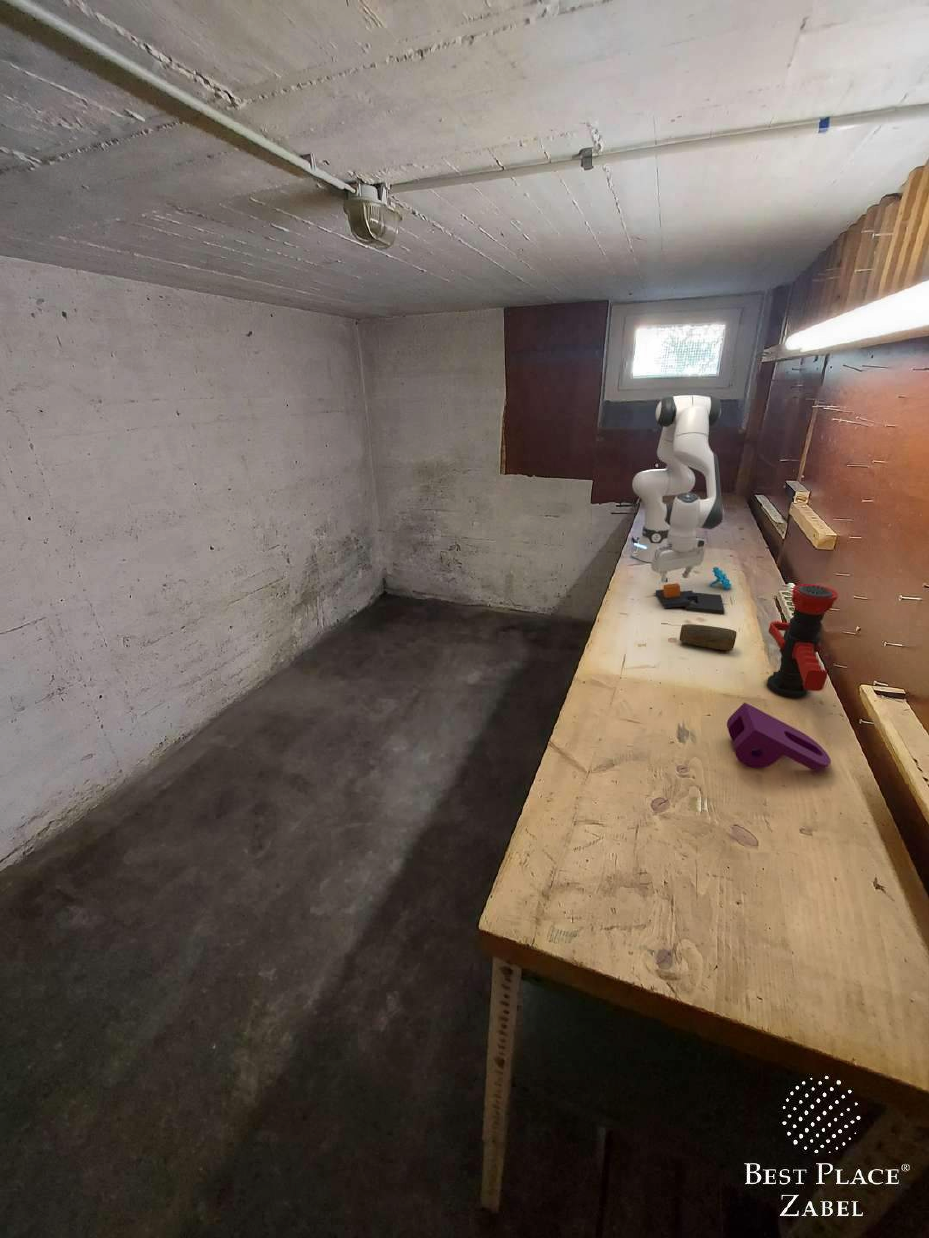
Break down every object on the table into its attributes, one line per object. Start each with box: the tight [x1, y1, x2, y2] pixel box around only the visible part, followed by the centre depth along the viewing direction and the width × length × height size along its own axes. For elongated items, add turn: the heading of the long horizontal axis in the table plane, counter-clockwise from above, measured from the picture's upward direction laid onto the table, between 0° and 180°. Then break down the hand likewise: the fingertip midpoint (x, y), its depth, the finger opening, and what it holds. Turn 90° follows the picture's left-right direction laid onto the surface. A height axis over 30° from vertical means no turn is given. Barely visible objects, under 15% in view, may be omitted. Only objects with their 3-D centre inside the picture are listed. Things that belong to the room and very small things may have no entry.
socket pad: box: [684, 592, 725, 615], centre depth 172 cm, size 14×12×2 cm
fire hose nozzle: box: [766, 583, 839, 699], centre depth 117 cm, size 10×28×25 cm
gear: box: [709, 566, 732, 590], centre depth 185 cm, size 11×6×10 cm
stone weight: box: [678, 623, 738, 651], centre depth 144 cm, size 15×7×7 cm, turn 65°
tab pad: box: [655, 582, 697, 609], centre depth 174 cm, size 14×12×6 cm
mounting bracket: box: [726, 701, 832, 772], centre depth 102 cm, size 9×8×18 cm
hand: (674, 579), depth 172 cm, fingers open, 8 cm apart
